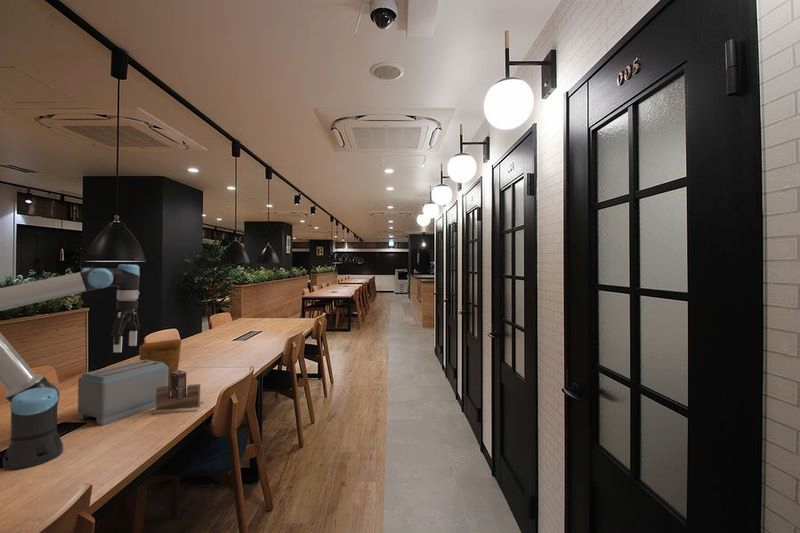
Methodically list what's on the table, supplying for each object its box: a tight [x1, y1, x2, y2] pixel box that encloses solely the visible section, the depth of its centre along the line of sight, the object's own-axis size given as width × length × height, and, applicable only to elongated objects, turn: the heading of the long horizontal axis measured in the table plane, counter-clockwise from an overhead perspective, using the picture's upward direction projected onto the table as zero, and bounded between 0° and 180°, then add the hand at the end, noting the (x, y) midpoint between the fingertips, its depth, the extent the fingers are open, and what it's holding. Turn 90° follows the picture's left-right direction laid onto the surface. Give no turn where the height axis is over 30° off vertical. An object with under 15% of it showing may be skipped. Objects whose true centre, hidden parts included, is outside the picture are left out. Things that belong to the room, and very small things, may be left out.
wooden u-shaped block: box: [151, 383, 204, 416], centre depth 174 cm, size 10×19×11 cm, turn 104°
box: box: [171, 369, 187, 399], centre depth 173 cm, size 6×4×12 cm
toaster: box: [77, 360, 168, 427], centre depth 173 cm, size 19×33×20 cm, turn 158°
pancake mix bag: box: [138, 338, 182, 386], centre depth 197 cm, size 7×19×28 cm, turn 122°
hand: (125, 348), depth 156 cm, fingers open, 13 cm apart
